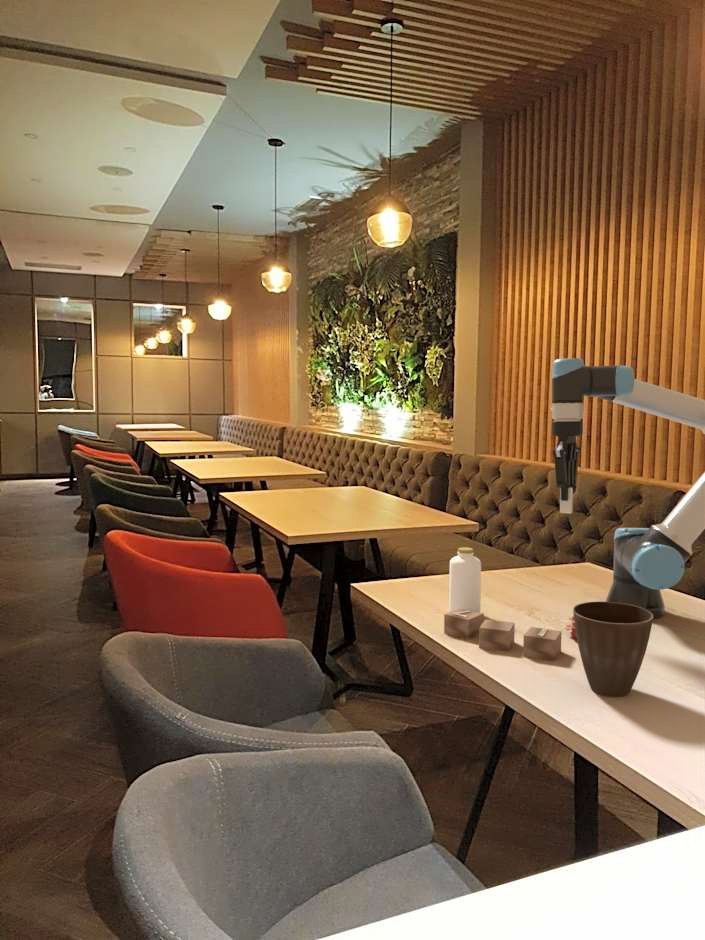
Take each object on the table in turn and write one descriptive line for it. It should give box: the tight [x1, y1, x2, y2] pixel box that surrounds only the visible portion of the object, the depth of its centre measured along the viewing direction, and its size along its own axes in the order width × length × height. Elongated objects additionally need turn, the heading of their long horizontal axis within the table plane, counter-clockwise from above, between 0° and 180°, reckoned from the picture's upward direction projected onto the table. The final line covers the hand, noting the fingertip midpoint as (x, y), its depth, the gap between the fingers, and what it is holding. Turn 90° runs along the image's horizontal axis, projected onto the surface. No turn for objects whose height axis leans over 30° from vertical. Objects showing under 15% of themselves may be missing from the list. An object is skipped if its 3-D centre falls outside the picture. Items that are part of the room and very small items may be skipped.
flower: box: [564, 614, 577, 639], centre depth 178 cm, size 10×9×8 cm
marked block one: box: [522, 626, 562, 662], centre depth 167 cm, size 7×7×5 cm
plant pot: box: [572, 601, 654, 698], centre depth 146 cm, size 15×15×16 cm
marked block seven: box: [443, 608, 485, 640], centre depth 183 cm, size 7×7×5 cm
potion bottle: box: [448, 546, 482, 613], centre depth 197 cm, size 8×8×18 cm
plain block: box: [478, 618, 516, 653], centre depth 174 cm, size 7×7×5 cm
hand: (566, 512), depth 188 cm, fingers closed
